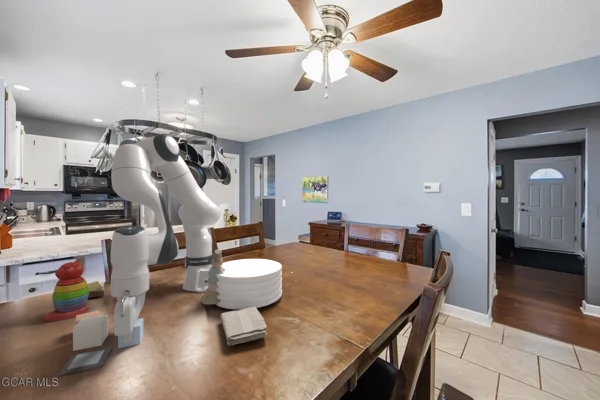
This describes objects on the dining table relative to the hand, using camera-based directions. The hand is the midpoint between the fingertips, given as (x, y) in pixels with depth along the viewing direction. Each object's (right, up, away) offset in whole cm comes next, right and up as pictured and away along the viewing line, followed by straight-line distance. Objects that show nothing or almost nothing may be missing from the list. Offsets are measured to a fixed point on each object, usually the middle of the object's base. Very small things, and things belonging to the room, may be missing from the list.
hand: (131, 335), depth 70 cm
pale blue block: (0, -2, 0) cm, 2 cm away
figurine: (+14, -1, +26) cm, 30 cm away
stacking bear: (-33, -2, +17) cm, 37 cm away
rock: (-34, -3, +31) cm, 46 cm away
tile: (-5, -2, -9) cm, 10 cm away
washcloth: (+29, -2, +8) cm, 30 cm away
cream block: (-11, -2, 0) cm, 11 cm away
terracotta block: (-16, -2, +5) cm, 17 cm away
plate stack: (+25, -2, +34) cm, 43 cm away
